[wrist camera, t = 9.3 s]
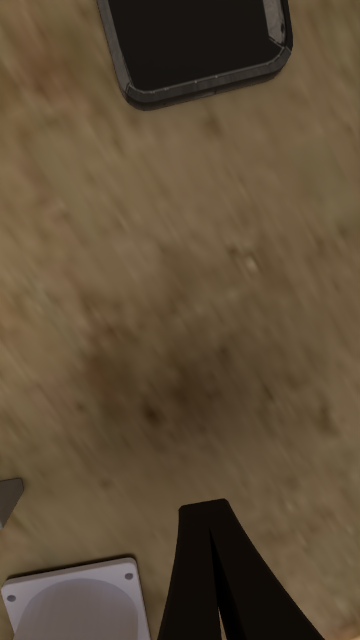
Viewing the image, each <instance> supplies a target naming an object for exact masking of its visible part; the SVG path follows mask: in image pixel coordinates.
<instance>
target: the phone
mask: <svg viewBox="0 0 360 640" xmlns="http://www.w3.org/2000/svg"><path fill="white" fill-rule="evenodd" d="M97 4H98V8H99V12H100V16H101V19H102V23H103V27H104V31H105V34H106V38H107V42H108V46H109V49H110V53H111V57H112V61H113V64H114V68H115V72H116V76H117V80H118V83H119V87H120V90H121V92H122V95H123V97H124V98H125V99H126V101H127V102H128V103H129V104H130V105H132V106H133V107H135V108H136V109H140V110H143V111H148V110H155V109H159V108H163V107H167V106H171V105H175V104H179V103H183V102H187V101H191V100H195V99H199V98H203V97H207V96H211V95H215V94H219V93H223V92H227V91H231V90H235V89H239V88H243V87H247V86H251V85H255V84H259V83H263V82H266V81H269V80H271V79H273V78H274V77H275V76H276V75H277V74H278V73H279V72H280V71H281V69H282V68H283V66H284V65H285V64H286V62H287V60H288V58H289V57H290V55H291V51H292V47H293V34H292V27H291V20H290V13H289V6H288V0H97ZM212 90H213V91H212ZM208 91H209V92H208ZM204 92H205V93H204ZM200 93H201V94H200ZM196 94H197V95H196ZM165 103H166V105H164V104H165Z"/></svg>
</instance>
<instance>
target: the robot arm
mask: <svg viewBox="0 0 360 640" xmlns="http://www.w3.org/2000/svg"><path fill="white" fill-rule="evenodd" d="M1 594H2V597H3V600H4V603H5V606H6V609H7V612H8V615H9V619H10V622H11V625H12V628H13V631H14V634H15V635H14V638H13V640H151V638H150V633H149V628H148V622H147V617H146V612H145V606H144V601H143V596H142V590H141V585H140V580H139V575H138V569H137V564H136V561H135V560H134V559H133V558H122V559H117V560H111V561H106V562H100V563H95V564H90V565H84V566H79V567H73V568H68V569H62V570H57V571H51V572H46V573H40V574H35V575H29V576H24V577H19V578H13V579H9V580H7V581H5V582H4V585H3V587H2V589H1ZM218 607H219V610H218ZM219 611H220V615H221V619H222V623H223V627H224V631H225V635H226V639H227V640H325V639H324V638H323V637H322V636H321V634H320V633H319V632H318V631H317V630H316V628H315V627H314V626H313V625H312V623H311V622H310V621H309V620H308V619H307V617H306V616H305V615H304V614H303V612H302V611H301V610H300V608H299V607H298V606H297V605H296V603H295V602H294V601H293V599H292V598H291V597H290V596H289V594H288V593H287V592H286V590H285V589H284V588H283V586H282V585H281V584H280V582H279V581H278V580H277V578H276V577H275V575H274V574H273V573H272V571H271V570H270V568H269V567H268V565H267V564H266V563H265V561H264V560H263V558H262V557H261V555H260V554H259V553H258V551H257V550H256V548H255V547H254V545H253V544H252V542H251V540H250V539H249V537H248V536H247V534H246V533H245V531H244V529H243V528H242V526H241V524H240V523H239V521H238V519H237V518H236V516H235V514H234V512H233V510H232V508H231V506H230V504H229V502H228V501H227V500H226V499H224V498H223V499H217V500H211V501H206V502H200V503H194V504H188V505H183V506H181V507H180V509H179V525H178V537H177V545H176V552H175V559H174V564H173V570H172V575H171V581H170V587H169V591H168V596H167V601H166V605H165V609H164V613H163V618H162V622H161V626H160V630H159V635H158V639H157V640H222V637H221V628H220V619H219Z"/></svg>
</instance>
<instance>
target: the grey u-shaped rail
mask: <svg viewBox="0 0 360 640" xmlns="http://www.w3.org/2000/svg"><path fill="white" fill-rule="evenodd" d="M23 491H24V488H23V485H22V481H21V478H18V479H12V480H6V481H0V529H3V528H4V526H5V524H6V522H7V520H8V518H9V517H10V515H11V513H12V511H13V509H14V507H15V506H16V504H17V502H18V500H19V498H20V496H21V495H22V493H23Z"/></svg>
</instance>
